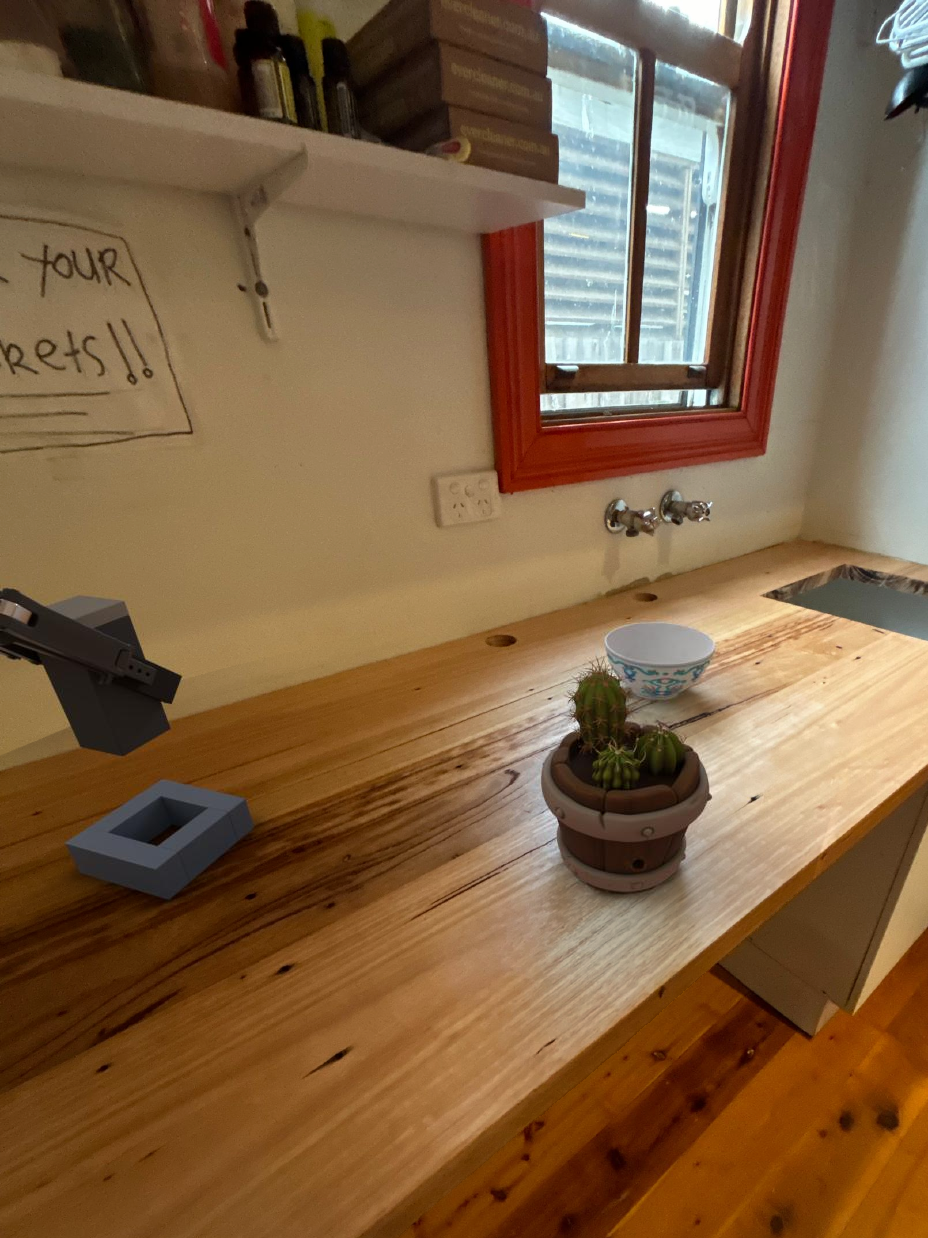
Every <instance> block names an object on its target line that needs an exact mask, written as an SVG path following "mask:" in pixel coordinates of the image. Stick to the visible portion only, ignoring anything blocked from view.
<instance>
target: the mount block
mask: <svg viewBox="0 0 928 1238" xmlns="http://www.w3.org/2000/svg"><path fill="white" fill-rule="evenodd" d="M171 826H178V827H181V828H179V829H178V830H176V832H174V833H173V834H171V835H170V836H169V837H168V838H166V839H165V840H164V841H162V842H161V843H160V844H158V845H154V844H151V843H150V842H151V841H152V840H153V839H154V838H156V837H157V836H159V835H160V834H162V833H163V832H164V831H165V830H167V829H169V827H171ZM254 828H255V824H254V821H253V818H252V815H251V812H250V808H249V806H248V802H247V799H246V798H245V797H240V796H236V795H232V794H228V793H225V792H224V793H223V792H219V791H216V790H215V791H214V790H211V789H208V788H207V789H206V788H202V787H197V786H194V785H189V784H185V783H180V782H177V781H172V780H169V779H163V778H162V779H160V780H159V781H157V782H156V783H154V784H153V785H151V786H150V787H148V788H147V789H145V790H144V791H142V792H140V793H138V794H137V795H136V796H134V797H133V798H131V799H130V800H128V801H127V802H125V803H124V804H122V805H121V806H119V807H118V808H116V809H114V810H113V811H111V812H110V813H108V814H107V815H105V816H104V817H102V818H101V819H99V820H98V821H96V822H94V823H92V824H91V825H90V826H89V827H87V828H85V829H84V830H83V831H81V832H79V833H78V834H77V835H75V836H73V837H72V838H70V839H69V840H67V841H65V843H64V845H65V846H66V848H67V850H68V852H69V854H70V856H71V858H72V860H73V862H74V863H75V866H76V867H77V870H78V871H79V873H80V874H82V875H86V876H89V877H92V878H96V879H98V880H103V881H105V882H109V883H112V884H115V885H119V886H122V887H125V888H128V889H132V890H136V891H138V892H141V893H145V894H147V895H152V896H154V897H158V898H161V899H165V900H171V898H173V897H174V896H175V895H176V894H178V893H179V892H180V891H181V890H182V889H184V887H186V886H187V885H188V884H189V883H191V882H192V881H193V880H194V879H195V878H197V876H198V875H200V874H202V872H203V871H205V870H206V869H207V868H208V867H210V866H211V864H213V863H214V862H215V861H216V860H218V859H219V858H220V857H221V856H222V855H223V854H225V853H226V852H227V851H228V850H229V849H230V848H232V847H233V846H234V845H235V844H237V842H239V841H240V840H241V839H242V838H243V837H245V836H246V835H247V834H248V833H249V832H251V831H252V830H253V829H254Z"/></svg>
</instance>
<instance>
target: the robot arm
mask: <svg viewBox="0 0 928 1238" xmlns="http://www.w3.org/2000/svg"><path fill="white" fill-rule="evenodd" d="M45 606H46V605H43V604H41V603H39V602H38V601H36V600H34V599H32V598H30V597H29V596H27V595H25V594H23V593H22V592H21V591H20V590H18V589H15V588H10V587H3V588H2V590H0V655H2V656H4V657H6V659H9V660H12V661H17V660H18V661H21V660H22V659H23V660H25V661H27V662H28V663H30V664H31V665H34V666H43V664H42V662H41V660H40V658H39V656H38V653H37V652H39V653H42V654H45V655H48V656H51V657H53V658H56V659H59V660H62V661H65V662H67V663H70V664H73V665H76V666H79V667H81V668H84V669H87V670H90V671H93V672H95V673H98V674H100V677H99V680H98V682H97V683H98V684H101V685H105V686H110V684H111V682H113V683H115V684H118V685H120V686H123V687H125V688H128V689H130V690H133V691H136V692H138V693H141V694H143V695H146V696H148V697H151V698H154V699H156V700H159V701H161V703H164V704H168V705H173V702H174V699H175V697H176V694H177V691H178V690H179V689H178V688H179V686H180V683H181V680H182V678H183V675H181V674H179V673H176V672H175V671H173V670H171V669H168V668H165V667H163V666H162V665H159V664H157V663H155V662H152V661H150V660H149V659H146V658H145V659H144V658H142V657H139V656H137V655H135V654H133V651H134V649H135V648H134V647H133V646H130V644H128V643H124V642H121V641H119V640H117V639H115V638H112V637H110V636H108V635H106V634H104V633H102V632H99V631H97V630H95V629H93V628H91V627H89V626H86V625H84V624H82V623H80V622H78V621H75V620H73V619H71V618H69V617H67V616H65V615H62V614H60V613H58V612H56V611H54V610H52V609H49V608H47V607H45Z"/></svg>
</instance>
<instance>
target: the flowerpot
mask: <svg viewBox="0 0 928 1238" xmlns="http://www.w3.org/2000/svg"><path fill="white" fill-rule="evenodd" d="M594 656H595V659H596V662H597V666H595V665H594V661H590V660H588V663H590V664H591V667H589V668H588V667H586V668H582V669H581V670H580V669H579V671H578V673H579V677H574V676H572V678H573V679H574V680H575V681H574V682H573V681H572V682H570V684H576V688H575V689H577V690H576V691H574V690H570V689H569V690H566V692H567V694H568V695H569V696H568V695H565V694H562V695H563V696H564V697H566V698H567V699H569V700H567V706H569V704H570V702H571V703H572V705H571V707H574V706H575V708H573V709H574V710H572V709H571V707H569V712H568V714H567V717H569V718H568V720H567V722H569V721H571V720H572V719H573V721H572V722H571V724H573V723H574V724H576V722H577V723H578V725H579V726H578V725H576V726H575V725H573V726H574V728H572V730H573V731H572V732H569V733H567V734H566V735H565V736H564V737H563V738H562V739H561V741H560V744H559V745H557V746H555V747H554V748H553V749H552V750H551V751H550V752H549V753H548V754H547V756H546V757H545V759H544V761H543V763H542V768H541V774H540V775H541V776H540V783H541V784H540V787H541V788H540V789H541V792H542V796H543V800H544V802H545V804H546V806H547V807H548V808H547V809H548V810H549V811H550V812H551V814H552V815H553V816H554V817H555V818H556V820H557V823H558V826H557V829H556V842H557V846H558V850H559V853H560V856H561V858H562V861H563V863H564V865H565V866H566V868H567V869H568V871H569V872H570V873H571V874H573V875H574V876H575V877H576V878H577V879H578V880H580V881H582V882H584V883H585V884H587V886H588V887H591V888H593V889H595V890H599V891H602V890H606V891H607V892H608V893H610V894H614V895H635V894H639V893H644V892H647V891H650V890H652V889H654V888H655V887H656V886H658V885H660V884H662V883H663V882H666V880H668V879H669V878H670V877H672V876H673V874H674V873H676V871H677V869H678V868H679V866H680V864H681V862H682V861H685V860H686V858H687V855H686V851H687V838H686V837H687V836H686V833H687V831H688V830H689V829H688V828H689V826H690V825H692V823H694V822H695V821H696V820H697V819H698V818H699V817H700V816H701V815H702V814H703V812H704V810H705V809H706V806H707V804H708V802H709V801H711V800H713V795H712V794H711V793H710V781H709V777H708V773H707V770H706V767H705V765H704V764H703V762H702V761H701V759H700V756H699V754H698V753H697V752H696V751H695V750H694V748H693V747H692V746H690V745H688V744H686V743H684V742H685V741H686V739H687V735H686V734H685V733H684V732H683V734H684V735H685V736H684V738H682V736H681V735H680V733H679V731H678V730H676V729H674V728H678V726H675V725H674V726H673V727H672V728H670V729H669V728H668V727H667V726H666V724H673V722H672V721H671V722H670V721H667V722H665V723H663V722H662V723H661V722H660V721H659V720H658V719H657V718H655V717H654V720H656V721H657V724H656V725H654V724H648V723H647V724H644V725H642V726H641V725H640V724H639V723H637V722H634V721H628V720H630V719H632V717H631V716H634V714H637V713H639V711H637V712H636V709H635V708H636V706H634V704H633V703H630V699H632V701H634V702H636V699H634V698H633V695H634V693H632V692H631V691H632V689H631V687H630V688H629V689H628V686H626V687H625V688H624V684H622V681H621V680H623V679H621V678H622V677H619V676H618V677H617V675H613V672H614V671H613V669H612V667H611V666H610V664H608V665H607V664H606V661H605V658H606V657H605V656H604V657H603V658H602V660H601V663H600V662H599V659H598V657H597V654H595V655H594ZM603 664H604V667H602V666H603ZM609 666H610V667H611V668H609ZM583 670H584V671H583ZM586 673H587V674H586ZM609 673H610V674H609ZM618 675H619V673H618ZM625 676H627V675H625ZM623 677H624V676H623ZM619 678H620V679H619ZM625 679H628V678H625ZM624 682H625V681H624ZM626 683H627V682H626ZM621 684H622V685H621ZM627 703H628V705H627ZM629 704H630V705H629ZM563 716H564V717H566V714H565V715H563ZM633 719H634V720H636V718H635V717H633ZM663 727H665V729H664V728H663Z"/></svg>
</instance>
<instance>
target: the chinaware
mask: <svg viewBox="0 0 928 1238" xmlns="http://www.w3.org/2000/svg"><path fill="white" fill-rule="evenodd" d="M604 647H605V653H606V656H607V660H608V663H609V666H610V667H612V669H613V671H612V672H613V673H614V675H615V676H616V677H617V678H618V676H619V677H622V678H621V679H623V680H621V681H620V682H621V683H622V684H623V685H625V686H626V687H627V688H629V689H630V687H631V689H630V690H631V691H632V693H633V694H634V695H635V696H638V697H639V698H642V699H646V700H650V701H667V700H671V699H674V698H676V697H677V696H678V695H679V694H680V693H681V692H684V691H686V690H687V689H688V688H690V687H691V686H693V685H694V684H695V683H697V682H698V681H699V680H700V679H701V677H703V675H704V674H705V673H706V671H707V669H708V667H709V665H710V663H711V661H712V659H713V656H714V653H715V652H716V651H715V650H716V643H715V641H714V639H713V638H712V637H711V636H710V635H709V634H707V633H705V632H703V631H701V630H699V629H697V628H694V627H692V626H688V625H683V624H678V623H672V622H663V621H662V622H661V621H649V622H648V621H647V622H645V621H644V622H635V623H629V624H625V625H622V626H619V627H616V628H614V629H613V630H611V631H609V632H608V633H607V635H606V636H605V637H604ZM618 673H619V675H618ZM625 675H627V676H625ZM623 676H624V677H623ZM625 678H628V679H625ZM619 679H620V678H619ZM624 681H625V682H624ZM626 682H627V683H626Z"/></svg>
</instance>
